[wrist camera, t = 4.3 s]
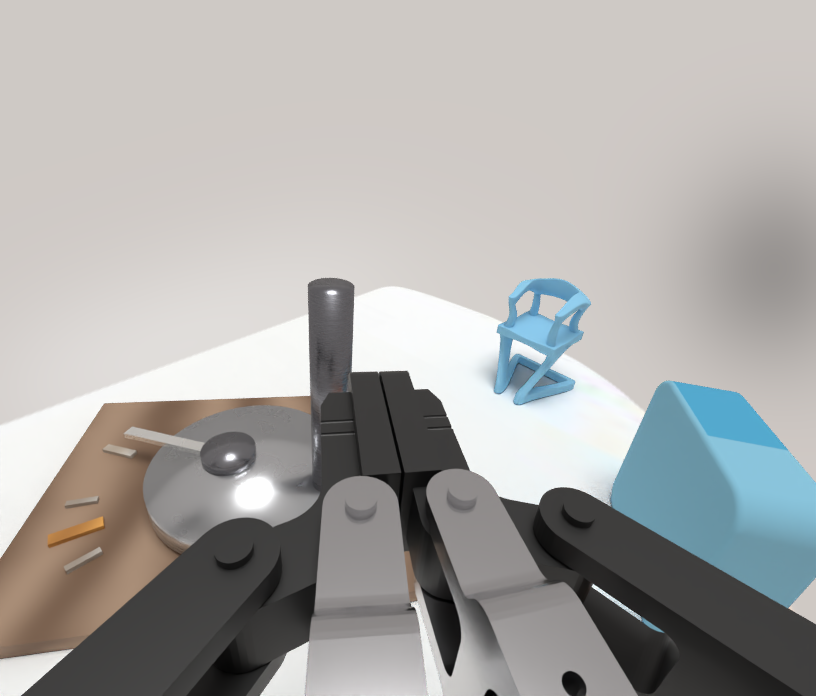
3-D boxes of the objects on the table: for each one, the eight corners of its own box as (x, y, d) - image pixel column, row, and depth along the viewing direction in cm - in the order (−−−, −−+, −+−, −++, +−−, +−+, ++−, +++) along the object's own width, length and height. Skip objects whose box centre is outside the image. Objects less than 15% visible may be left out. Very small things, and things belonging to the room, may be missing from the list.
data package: (733, 673, 24) (862, 532, 19) (649, 652, 25) (748, 509, 19) (665, 506, 35) (733, 382, 29) (606, 494, 35) (662, 370, 29)
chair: (475, 382, 48) (496, 280, 42) (516, 359, 53) (539, 265, 48) (537, 417, 44) (569, 308, 38) (574, 387, 49) (608, 288, 43)
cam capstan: (56, 522, 27) (-53, 280, 19) (189, 403, 38) (153, 219, 30) (309, 589, 25) (301, 347, 17) (371, 441, 36) (384, 255, 28)
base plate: (-56, 666, 21) (-68, 652, 21) (107, 412, 38) (103, 400, 38) (419, 600, 26) (421, 587, 26) (377, 401, 43) (377, 391, 43)
